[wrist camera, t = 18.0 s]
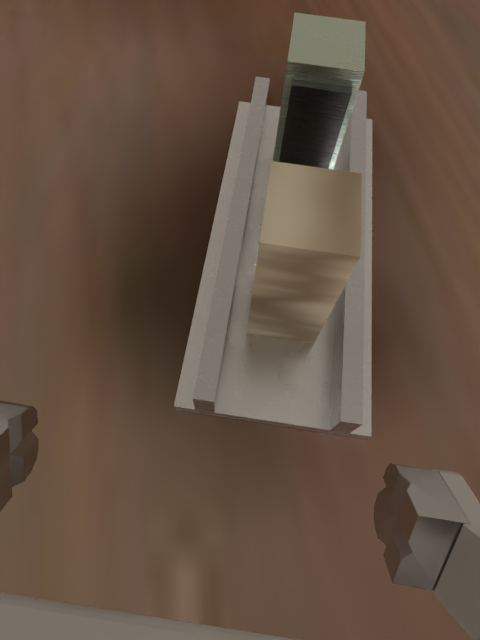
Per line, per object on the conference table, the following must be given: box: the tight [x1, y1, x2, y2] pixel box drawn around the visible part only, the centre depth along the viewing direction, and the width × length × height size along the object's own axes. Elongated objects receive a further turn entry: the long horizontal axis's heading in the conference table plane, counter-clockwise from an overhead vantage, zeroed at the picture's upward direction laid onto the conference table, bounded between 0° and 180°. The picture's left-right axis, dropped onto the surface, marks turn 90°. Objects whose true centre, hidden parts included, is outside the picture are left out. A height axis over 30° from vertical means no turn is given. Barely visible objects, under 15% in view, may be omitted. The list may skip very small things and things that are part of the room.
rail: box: [174, 13, 372, 439], centre depth 27 cm, size 12×28×11 cm, turn 172°
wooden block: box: [246, 161, 362, 343], centre depth 24 cm, size 4×6×10 cm
